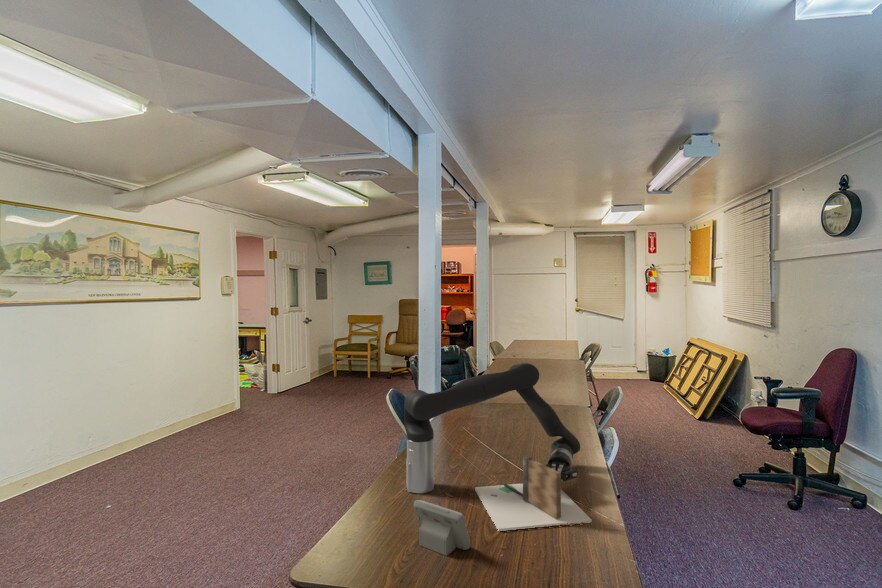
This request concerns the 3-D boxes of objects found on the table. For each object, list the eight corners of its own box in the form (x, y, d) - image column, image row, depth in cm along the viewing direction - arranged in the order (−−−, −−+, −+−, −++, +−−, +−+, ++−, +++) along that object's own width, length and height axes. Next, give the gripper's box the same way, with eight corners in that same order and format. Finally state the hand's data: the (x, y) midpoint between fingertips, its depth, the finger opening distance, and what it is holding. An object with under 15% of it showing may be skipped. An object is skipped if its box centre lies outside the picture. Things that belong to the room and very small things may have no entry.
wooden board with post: (501, 486, 159) (501, 448, 158) (508, 484, 160) (508, 446, 160) (554, 519, 136) (554, 474, 136) (562, 516, 137) (562, 472, 137)
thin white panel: (498, 532, 132) (498, 528, 132) (475, 490, 159) (475, 486, 159) (591, 523, 136) (591, 519, 136) (553, 483, 164) (553, 480, 164)
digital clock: (474, 550, 123) (473, 509, 123) (449, 564, 117) (449, 521, 117) (432, 527, 135) (432, 490, 135) (408, 539, 129) (407, 500, 129)
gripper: (541, 449, 165) (532, 467, 149) (580, 453, 160) (575, 472, 144) (541, 470, 165) (532, 490, 149) (580, 475, 160) (576, 496, 144)
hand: (554, 481), depth 146 cm, fingers closed
